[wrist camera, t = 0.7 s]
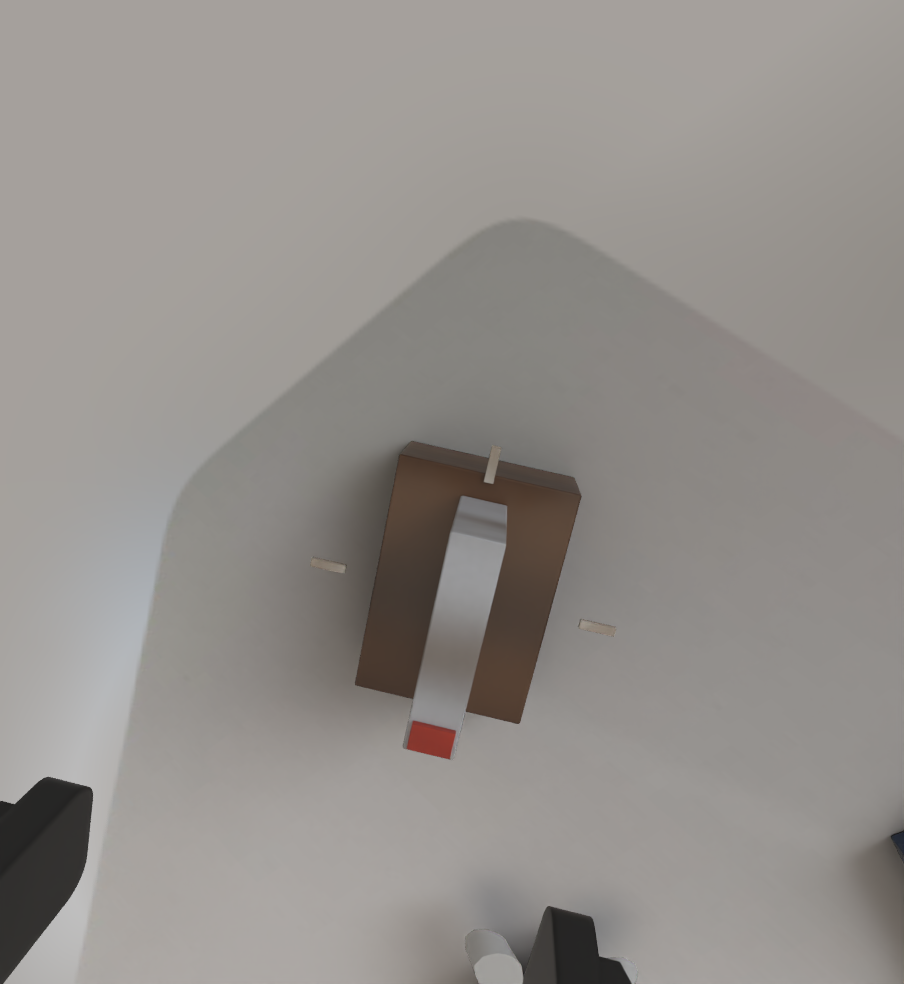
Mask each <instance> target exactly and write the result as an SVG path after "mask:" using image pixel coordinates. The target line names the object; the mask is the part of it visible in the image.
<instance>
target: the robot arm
mask: <svg viewBox="0 0 904 984" xmlns="http://www.w3.org/2000/svg"><path fill="white" fill-rule="evenodd" d="M92 802H93V792H92V789H91V788H90V787H87V786H83V785H79V784H75V783H71V782H67V781H63V780H59V779H55V778H51V777H46V778H43V779H42V780H40V781H39V782H38V783H37V784H36V785H35V786H34V787H33V788H31V789H30V790H29V791H28V792H27V793H26V794H25V795H24V796H23V797H22V798H21V799H20V800H19V801H18V802H17V803H16V804H11V803H7V802H3V801H0V984H3V983H4V982H5V980H6V979H7V978H8V977H9V975H10V974H11V973H12V972H13V970H14V969H15V968H16V966H17V965H18V964H19V963H20V961H21V960H22V959H23V957H24V956H25V955H26V954H27V952H28V951H29V950H30V948H31V947H32V946H33V944H34V943H35V942H36V941H37V939H38V938H39V937H40V936H41V934H42V933H43V932H44V930H45V929H46V928H47V927H48V925H49V924H50V923H51V921H52V920H53V919H54V918H55V916H56V915H57V914H58V913H59V911H60V910H61V909H62V907H63V906H64V905H65V904H66V902H67V901H68V899H69V898H70V897H71V895H72V893H73V892H74V890H75V888H76V887H77V885H78V883H79V880H80V878H81V876H82V873H83V870H84V867H85V863H86V859H87V851H88V842H89V832H90V822H91V821H90V820H91V812H92ZM523 984H632V983H631V981H630V979H629V977H628V975H627V974H626V972H625V970H624V968H623V966H622V964H621V963H620V962H619V961H615V960H611V959H607V958H603V957H599V954H598V947H597V940H596V933H595V926H594V922H593V919H592V918H591V917H590V916H586V915H582V914H578V913H574V912H570V911H566V910H562V909H558V908H554V907H550V906H548V907H547V908H546V909H545V912H544V914H543V917H542V921H541V924H540V927H539V930H538V933H537V936H536V940H535V943H534V946H533V949H532V952H531V955H530V959H529V962H528V965H527V968H526V971H525V975H524V979H523Z"/></svg>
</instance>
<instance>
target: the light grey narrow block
mask: <svg viewBox="0 0 904 984" xmlns="http://www.w3.org/2000/svg"><path fill="white" fill-rule="evenodd" d="M506 536H507V506H506V505H502V504H497V503H493V502H488V501H484V500H480V499H475V498H471V497H466V496H461V497H460V500H459V504H458V507H457V511H456V514H455V517H454V521H453V524H452V527H451V531H450V535H449V539H448V544H447V548H446V553H445V557H444V562H443V566H442V571H441V575H440V580H439V584H438V589H437V593H436V598H435V602H434V607H433V611H432V616H431V621H430V625H429V630H428V634H427V639H426V643H425V648H424V652H423V657H422V661H421V666H420V670H419V675H418V679H417V684H416V688H415V693H414V697H413V702H412V706H411V711H410V715H409V720H408V724H407V729H406V734H405V738H404V743H403V748H404V749H408V750H412V751H416V752H421V753H425V754H429V755H433V756H437V757H441V758H446V759H450V760H453V759H454V756H455V752H456V748H457V744H458V740H459V736H460V732H461V728H462V724H463V720H464V716H465V712H466V707H467V703H468V699H469V695H470V691H471V687H472V683H473V679H474V675H475V671H476V667H477V663H478V659H479V655H480V650H481V646H482V642H483V638H484V634H485V630H486V626H487V622H488V618H489V614H490V610H491V606H492V602H493V598H494V594H495V589H496V585H497V581H498V577H499V573H500V569H501V565H502V561H503V557H504V553H505V549H506Z"/></svg>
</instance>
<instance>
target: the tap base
mask: <svg viewBox="0 0 904 984" xmlns="http://www.w3.org/2000/svg"><path fill="white" fill-rule="evenodd" d="M500 452H501V447H498V446H493V445H492V448H491V452H490V456H489V458H485V457H480V456H476V455H472V454H467V453H463V452H458V451H454V450H449V449H445V448H441V447H436V446H432V445H427V444H423V443H418V442H414V441H411V442H410V443H409V444H408V445H407V447H406V448H405V449H404V450H403V451H402V452H401V454H400V455H399V459H398V464H397V469H396V474H395V479H394V485H393V490H392V495H391V500H390V505H389V510H388V516H387V521H386V526H385V531H384V536H383V541H382V546H381V552H380V557H379V562H378V567H377V572H376V577H375V583H374V588H373V593H372V598H371V603H370V608H369V613H368V619H367V624H366V629H365V634H364V639H363V644H362V649H361V655H360V660H359V665H358V670H357V675H356V680H355V685H357V686H361V687H365V688H369V689H373V690H378V691H382V692H386V693H390V694H395V695H399V696H403V697H407V698H411V699H413V697H414V693H415V688H416V684H417V679H418V675H419V670H420V666H421V661H422V657H423V652H424V648H425V643H426V639H427V634H428V630H429V625H430V621H431V616H432V611H433V607H434V602H435V598H436V593H437V589H438V584H439V580H440V575H441V571H442V566H443V562H444V557H445V553H446V548H447V544H448V539H449V535H450V531H451V527H452V524H453V521H454V517H455V514H456V511H457V507H458V504H459V500H460V497H461V496H466V497H471V498H475V499H480V500H484V501H488V502H493V503H497V504H502V505H506V506H507V536H506V549H505V553H504V557H503V561H502V565H501V569H500V573H499V577H498V581H497V585H496V589H495V594H494V598H493V602H492V606H491V610H490V614H489V618H488V622H487V626H486V630H485V634H484V638H483V642H482V646H481V650H480V655H479V659H478V663H477V667H476V671H475V675H474V679H473V683H472V687H471V691H470V695H469V699H468V703H467V707H466V712H470V713H474V714H479V715H483V716H487V717H491V718H495V719H500V720H504V721H508V722H512V723H517V724H519V723H520V721H521V717H522V713H523V710H524V706H525V702H526V699H527V695H528V691H529V688H530V684H531V680H532V677H533V673H534V669H535V666H536V662H537V658H538V654H539V651H540V647H541V643H542V640H543V636H544V632H545V629H546V625H547V621H548V618H549V614H550V610H551V607H552V603H553V599H554V596H555V592H556V588H557V585H558V581H559V577H560V573H561V570H562V566H563V562H564V559H565V555H566V551H567V548H568V544H569V540H570V537H571V533H572V529H573V526H574V522H575V518H576V515H577V511H578V507H579V503H580V500H581V494H580V491H579V489H578V486H577V484H576V481H575V479H574V478H573V477H569V476H565V475H560V474H556V473H552V472H547V471H543V470H538V469H534V468H529V467H525V466H520V465H516V464H512V463H507V462H503V461H499V457H500ZM310 566H312V567H316V568H321V569H325V570H329V571H334V572H338V573H342V574H345V572H346V566H347V565H346V564H342V563H338V562H333V561H329V560H325V559H320V558H316V557H312V558H311V564H310ZM578 627H579V629H583V630H587V631H592V632H596V633H600V634H605V635H609V636H613V637H614V634H615V631H616V627H614V626H609V625H605V624H601V623H596V622H592V621H588V620H584V619H580V623H579V626H578Z"/></svg>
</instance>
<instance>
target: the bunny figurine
mask: <svg viewBox="0 0 904 984" xmlns="http://www.w3.org/2000/svg"><path fill="white" fill-rule="evenodd" d="M465 948H466V951H467V954H468V956H469V959H470V962H471V965H472V967H473V970H474V973H475V975H476V978H477V980H478V982H479V984H523V979H524V978H523V972H522V966H521V964H520V962H519V961H518V959H517V958H516V956H515V955H514V953H513V952H512V950H511V948H510V947H509V945H508V943H507V941H506V939H505V938H504V937H502V936H501V935H499V934H498V933H496V932H493V931H491V930H488V929H481V930H473V931H472V932H471V933H469V934H468V935H467V936H466V937H465ZM607 959H611V960H615V961H619V962H620V963H621V964H622V966H623V968H624V970H625V972H626V974H627V975H628V977H629V979H630V981H631V983H632V984H635V983H636V979H637V975H638V971H637V968H636V965H635V963H633V962H631V961H630V960H628V959H626V958H623V957H611V958H607Z"/></svg>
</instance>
